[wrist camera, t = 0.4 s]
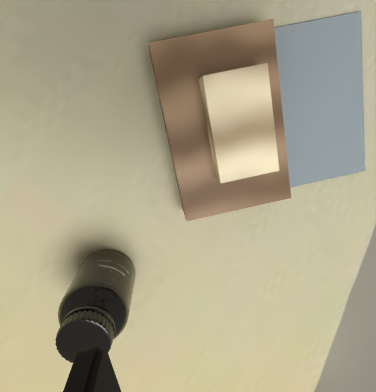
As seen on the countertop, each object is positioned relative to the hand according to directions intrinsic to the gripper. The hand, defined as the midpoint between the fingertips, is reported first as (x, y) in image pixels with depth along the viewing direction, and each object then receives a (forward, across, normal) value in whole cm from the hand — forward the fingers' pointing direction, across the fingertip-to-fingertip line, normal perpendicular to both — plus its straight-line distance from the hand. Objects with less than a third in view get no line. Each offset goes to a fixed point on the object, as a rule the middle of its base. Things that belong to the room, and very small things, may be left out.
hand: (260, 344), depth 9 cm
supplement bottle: (+27, +12, +9) cm, 31 cm away
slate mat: (+26, -17, -5) cm, 32 cm away
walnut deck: (+26, -5, -5) cm, 27 cm away
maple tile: (+21, -6, -5) cm, 22 cm away
